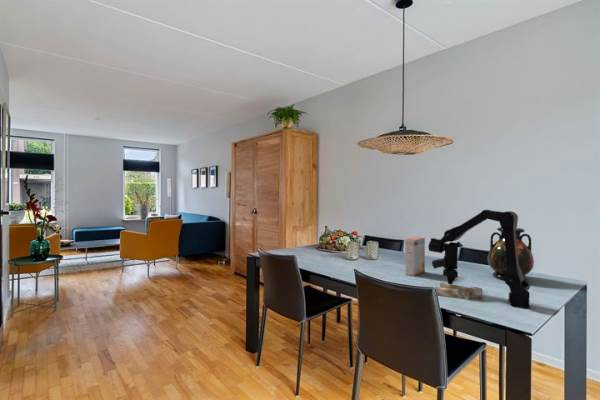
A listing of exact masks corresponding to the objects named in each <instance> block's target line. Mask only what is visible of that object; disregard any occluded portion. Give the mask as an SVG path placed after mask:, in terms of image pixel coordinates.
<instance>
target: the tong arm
mask: <svg viewBox="0 0 600 400" xmlns="http://www.w3.org/2000/svg"><path fill="white" fill-rule="evenodd" d="M440 288H449V289H458V288H461V289H464V290H466V291H469V298H470V299H474V300H482V299H483V289H482V287H478V286H477V287H476V286H471V287H467V286H464V285H463V286H462V285H458V284H457V285H456V284H453V283H452V284H448V282H447V283H446V282H441V283H440Z"/></svg>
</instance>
